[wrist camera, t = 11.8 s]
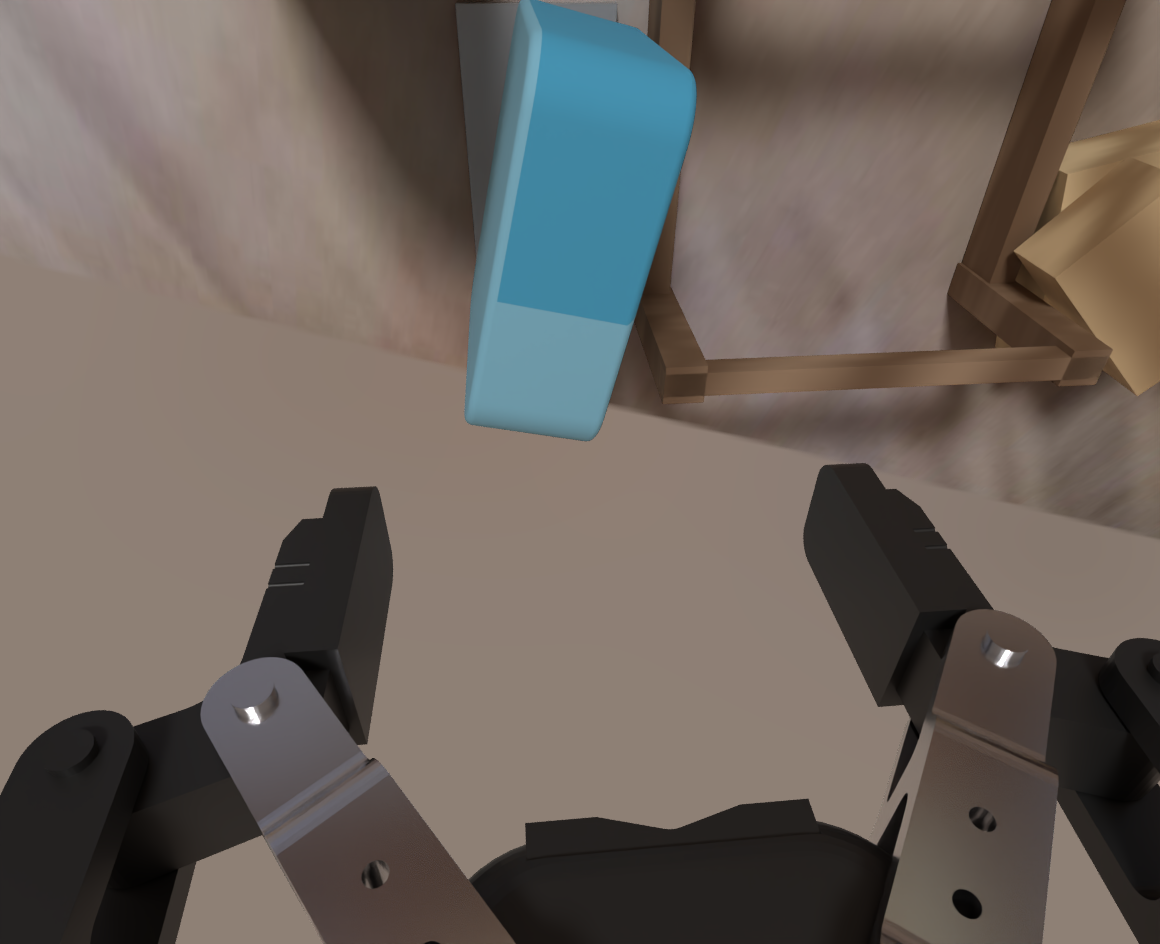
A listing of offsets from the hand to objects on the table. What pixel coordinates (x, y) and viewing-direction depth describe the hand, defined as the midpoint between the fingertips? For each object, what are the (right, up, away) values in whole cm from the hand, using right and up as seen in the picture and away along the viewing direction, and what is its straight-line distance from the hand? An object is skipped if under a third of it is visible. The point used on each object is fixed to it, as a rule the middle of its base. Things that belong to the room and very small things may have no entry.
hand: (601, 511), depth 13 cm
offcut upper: (+24, +10, +20) cm, 32 cm away
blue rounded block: (-2, +14, +17) cm, 22 cm away
